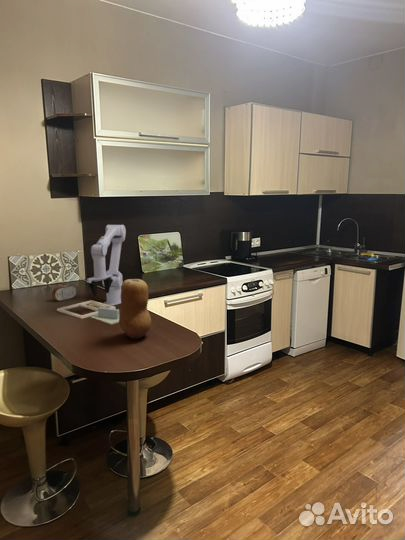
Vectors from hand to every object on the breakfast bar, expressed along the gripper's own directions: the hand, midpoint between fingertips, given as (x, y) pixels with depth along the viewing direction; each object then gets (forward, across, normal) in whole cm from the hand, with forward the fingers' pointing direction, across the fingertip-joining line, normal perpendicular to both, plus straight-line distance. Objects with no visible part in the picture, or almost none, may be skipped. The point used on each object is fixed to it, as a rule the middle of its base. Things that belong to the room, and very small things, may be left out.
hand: (101, 294), depth 204 cm
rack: (+9, +4, -8) cm, 13 cm away
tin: (+10, -2, -36) cm, 37 cm away
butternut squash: (+10, +14, +41) cm, 44 cm away
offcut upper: (+9, -3, -8) cm, 12 cm away
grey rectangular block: (+9, +5, +12) cm, 16 cm away
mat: (+9, +5, +12) cm, 16 cm away
